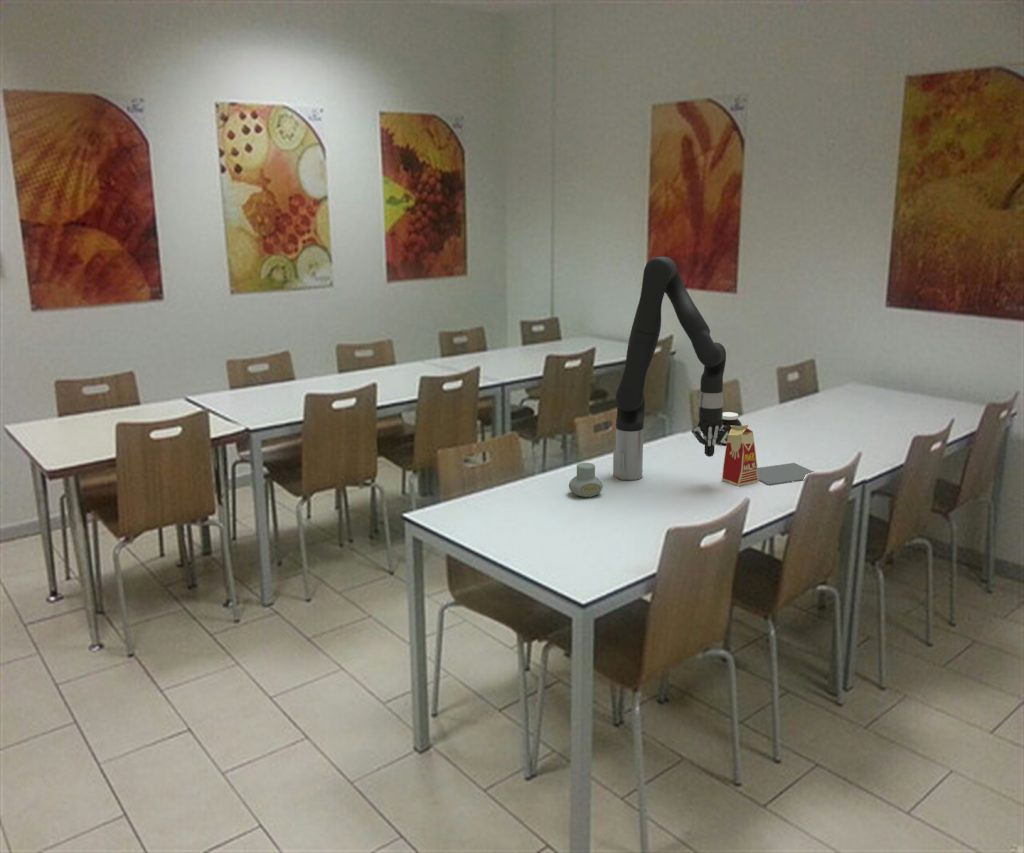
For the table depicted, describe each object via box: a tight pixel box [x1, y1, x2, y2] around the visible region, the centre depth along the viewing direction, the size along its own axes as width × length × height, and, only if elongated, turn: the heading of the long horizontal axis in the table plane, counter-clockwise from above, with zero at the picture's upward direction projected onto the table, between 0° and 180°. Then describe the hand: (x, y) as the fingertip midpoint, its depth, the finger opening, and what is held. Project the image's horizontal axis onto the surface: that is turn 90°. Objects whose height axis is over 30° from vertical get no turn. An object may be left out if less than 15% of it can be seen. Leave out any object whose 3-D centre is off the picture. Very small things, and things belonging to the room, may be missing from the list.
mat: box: [757, 462, 815, 486], centre depth 294 cm, size 22×16×1 cm
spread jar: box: [718, 411, 743, 447], centre depth 331 cm, size 12×11×12 cm
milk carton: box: [721, 424, 760, 487], centre depth 287 cm, size 9×9×20 cm
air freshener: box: [568, 462, 604, 498], centre depth 278 cm, size 11×8×10 cm
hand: (709, 455), depth 283 cm, fingers closed
